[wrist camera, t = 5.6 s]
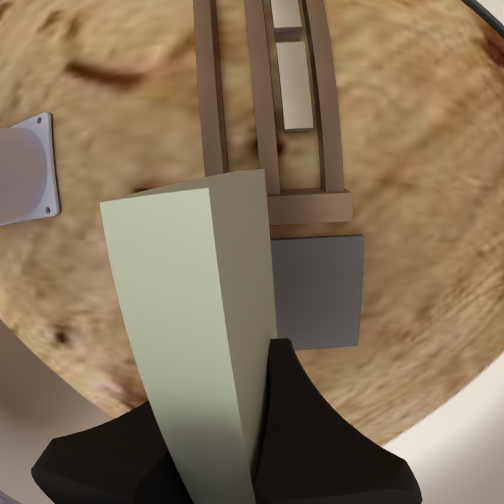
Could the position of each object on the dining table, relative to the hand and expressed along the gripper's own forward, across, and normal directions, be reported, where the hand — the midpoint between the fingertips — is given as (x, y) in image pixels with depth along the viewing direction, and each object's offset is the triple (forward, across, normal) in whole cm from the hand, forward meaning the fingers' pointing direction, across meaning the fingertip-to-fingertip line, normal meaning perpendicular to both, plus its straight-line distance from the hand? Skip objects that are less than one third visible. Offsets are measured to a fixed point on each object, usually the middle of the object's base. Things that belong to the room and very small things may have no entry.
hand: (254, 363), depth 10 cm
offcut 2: (+11, -2, -11) cm, 15 cm away
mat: (+10, 0, +2) cm, 11 cm away
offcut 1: (+11, -2, -17) cm, 20 cm away
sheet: (+4, 0, 0) cm, 4 cm away
